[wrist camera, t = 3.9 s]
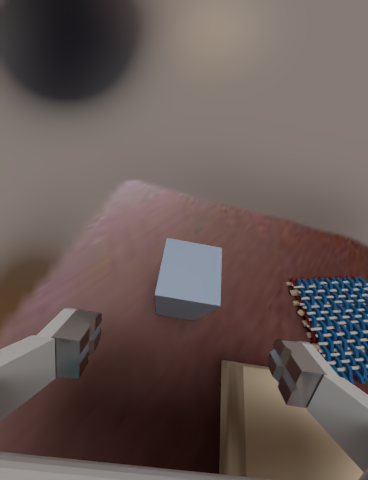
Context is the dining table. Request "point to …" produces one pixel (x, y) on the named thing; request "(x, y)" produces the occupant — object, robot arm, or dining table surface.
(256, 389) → the beech block
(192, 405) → the dining table surface
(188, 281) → the slate block
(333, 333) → the woven mat
